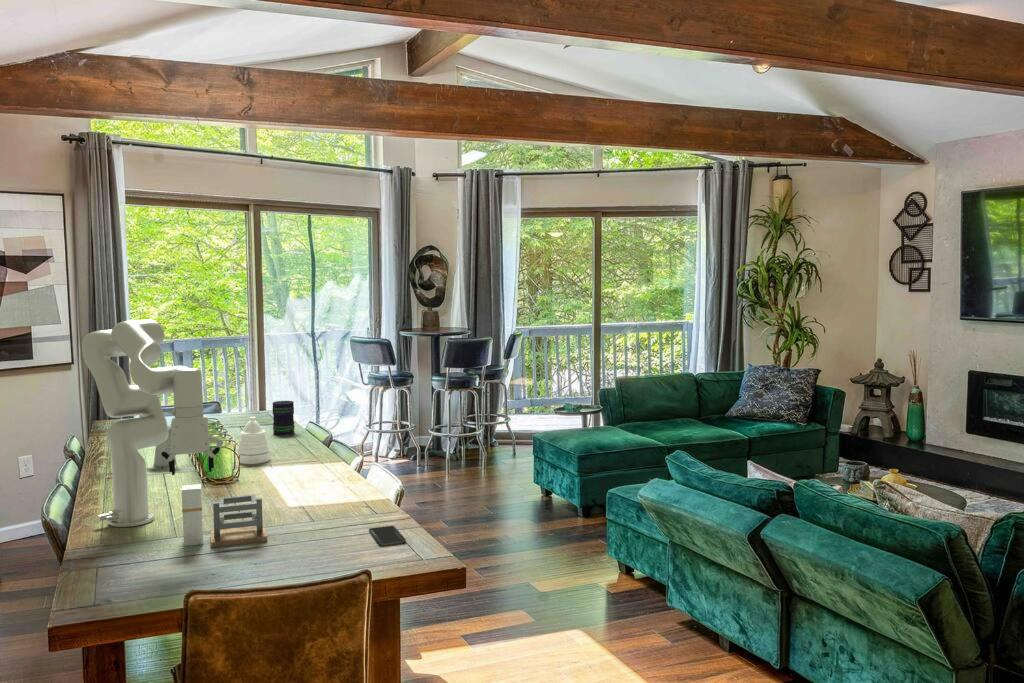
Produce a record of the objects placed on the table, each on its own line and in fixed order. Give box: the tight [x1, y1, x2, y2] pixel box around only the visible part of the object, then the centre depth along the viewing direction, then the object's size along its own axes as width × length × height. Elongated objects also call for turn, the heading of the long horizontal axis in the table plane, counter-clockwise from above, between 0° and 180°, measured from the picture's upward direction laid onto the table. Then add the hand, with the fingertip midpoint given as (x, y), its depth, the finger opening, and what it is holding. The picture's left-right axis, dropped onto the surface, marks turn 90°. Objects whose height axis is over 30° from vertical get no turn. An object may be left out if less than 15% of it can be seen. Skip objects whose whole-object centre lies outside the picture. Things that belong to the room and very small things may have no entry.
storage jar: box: [272, 400, 296, 437], centre depth 385 cm, size 10×10×15 cm
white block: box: [181, 484, 204, 547], centre depth 231 cm, size 5×5×16 cm
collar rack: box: [210, 494, 268, 548], centre depth 234 cm, size 15×11×11 cm
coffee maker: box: [153, 425, 178, 468], centre depth 324 cm, size 15×9×18 cm, turn 76°
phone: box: [368, 525, 407, 548], centre depth 235 cm, size 8×1×15 cm
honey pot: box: [236, 416, 271, 465], centre depth 331 cm, size 13×13×18 cm
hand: (192, 472), depth 229 cm, fingers open, 9 cm apart
